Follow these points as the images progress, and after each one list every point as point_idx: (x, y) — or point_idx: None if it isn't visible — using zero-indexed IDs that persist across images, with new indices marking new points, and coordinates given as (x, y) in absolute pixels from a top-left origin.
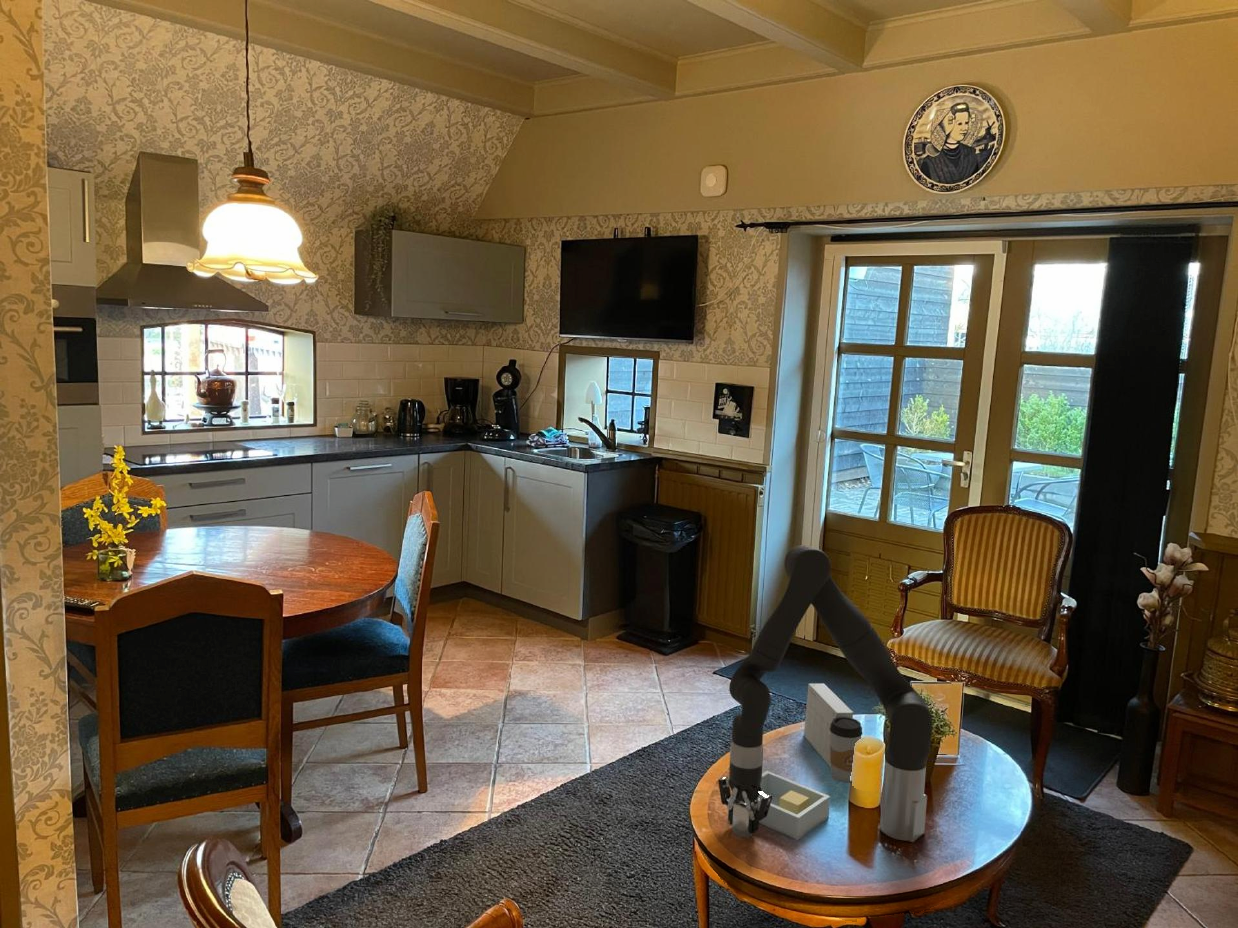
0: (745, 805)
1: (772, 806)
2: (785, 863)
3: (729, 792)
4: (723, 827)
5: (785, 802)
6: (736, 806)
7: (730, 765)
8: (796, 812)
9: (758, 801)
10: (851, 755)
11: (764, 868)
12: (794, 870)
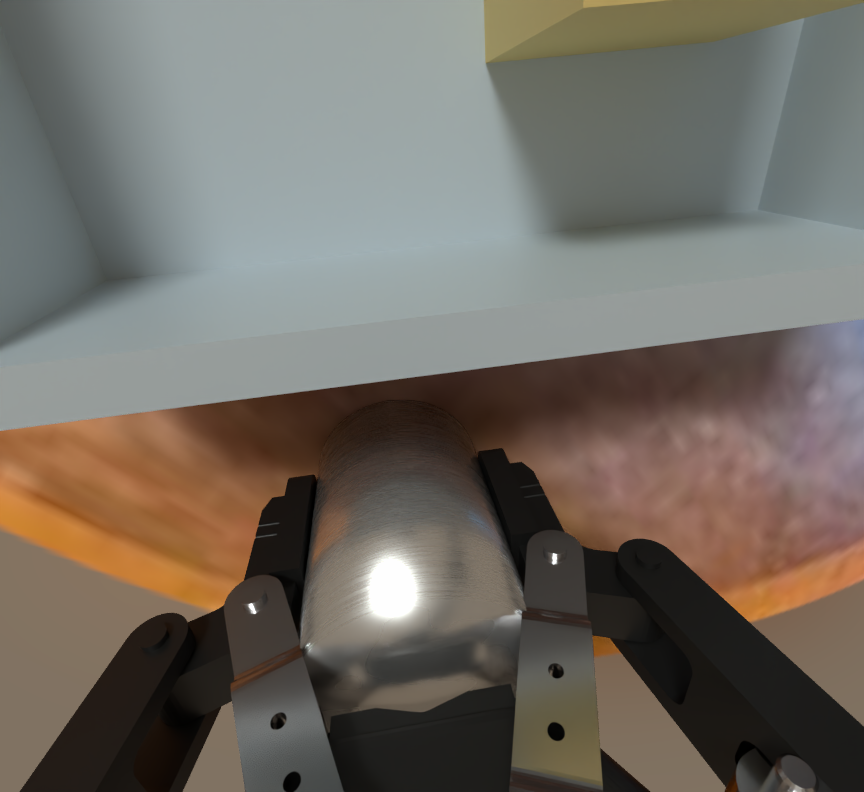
0: (459, 690)
1: (611, 348)
2: (775, 496)
3: (137, 741)
4: None
5: (682, 9)
6: None
7: None
8: (816, 9)
9: (592, 661)
10: None
11: None
12: (835, 502)
